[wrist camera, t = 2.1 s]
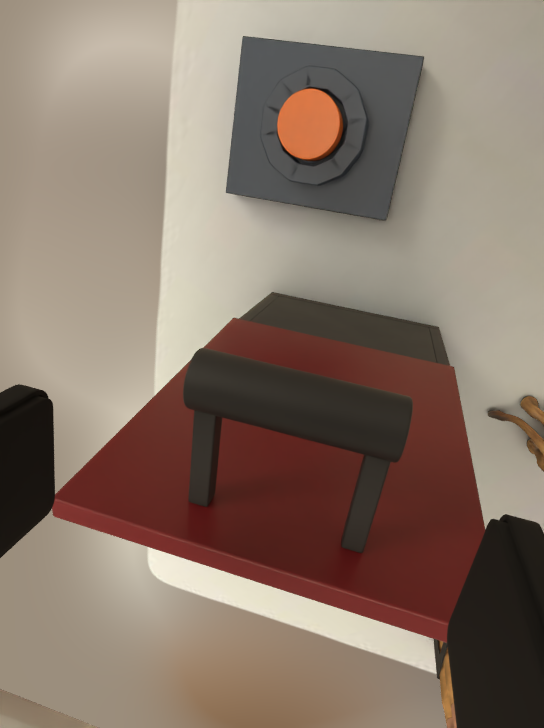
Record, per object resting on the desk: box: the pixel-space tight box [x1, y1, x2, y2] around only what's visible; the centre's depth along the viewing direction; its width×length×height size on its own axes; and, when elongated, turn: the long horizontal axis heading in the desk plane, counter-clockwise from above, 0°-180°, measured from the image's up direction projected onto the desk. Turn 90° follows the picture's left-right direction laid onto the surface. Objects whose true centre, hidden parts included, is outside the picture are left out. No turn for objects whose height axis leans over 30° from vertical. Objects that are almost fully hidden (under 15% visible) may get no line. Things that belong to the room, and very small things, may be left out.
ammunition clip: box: [434, 639, 457, 728], centre depth 39 cm, size 11×2×12 cm, turn 176°
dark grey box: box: [239, 292, 450, 366], centre depth 37 cm, size 17×14×10 cm
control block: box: [226, 36, 424, 220], centre depth 33 cm, size 12×10×4 cm
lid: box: [52, 318, 485, 643], centre depth 20 cm, size 17×14×6 cm
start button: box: [277, 89, 343, 161], centre depth 31 cm, size 4×4×2 cm
